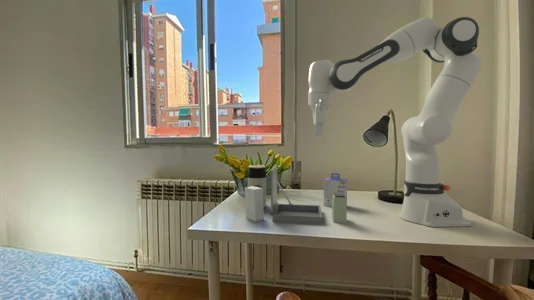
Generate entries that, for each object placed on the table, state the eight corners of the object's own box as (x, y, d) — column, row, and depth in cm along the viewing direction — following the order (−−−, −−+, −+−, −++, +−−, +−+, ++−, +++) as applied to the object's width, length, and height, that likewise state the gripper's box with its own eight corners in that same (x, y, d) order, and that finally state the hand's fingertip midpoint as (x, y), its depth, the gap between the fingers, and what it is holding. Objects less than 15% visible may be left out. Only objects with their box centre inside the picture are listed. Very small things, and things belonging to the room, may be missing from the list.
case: (319, 212, 112) (320, 165, 111) (322, 225, 96) (323, 171, 94) (275, 210, 114) (275, 165, 113) (270, 223, 98) (271, 170, 97)
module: (344, 219, 101) (345, 193, 101) (346, 223, 97) (346, 196, 96) (332, 218, 102) (332, 193, 101) (333, 222, 98) (333, 195, 97)
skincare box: (264, 220, 101) (264, 188, 100) (254, 223, 98) (254, 189, 97) (253, 216, 105) (253, 185, 105) (244, 219, 102) (244, 187, 102)
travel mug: (250, 204, 124) (250, 164, 123) (267, 204, 123) (267, 165, 122) (245, 208, 117) (245, 166, 115) (264, 209, 115) (264, 167, 114)
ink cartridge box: (346, 205, 123) (347, 173, 122) (346, 208, 117) (347, 175, 116) (323, 203, 125) (324, 172, 124) (323, 207, 120) (323, 174, 119)
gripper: (329, 97, 99) (329, 136, 100) (325, 104, 119) (324, 135, 120) (312, 98, 100) (311, 136, 101) (310, 104, 120) (310, 135, 121)
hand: (318, 135), depth 110 cm, fingers open, 8 cm apart
